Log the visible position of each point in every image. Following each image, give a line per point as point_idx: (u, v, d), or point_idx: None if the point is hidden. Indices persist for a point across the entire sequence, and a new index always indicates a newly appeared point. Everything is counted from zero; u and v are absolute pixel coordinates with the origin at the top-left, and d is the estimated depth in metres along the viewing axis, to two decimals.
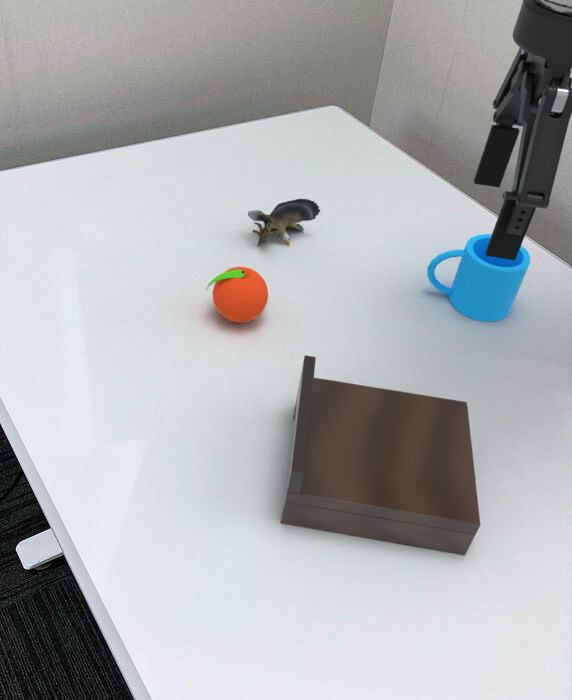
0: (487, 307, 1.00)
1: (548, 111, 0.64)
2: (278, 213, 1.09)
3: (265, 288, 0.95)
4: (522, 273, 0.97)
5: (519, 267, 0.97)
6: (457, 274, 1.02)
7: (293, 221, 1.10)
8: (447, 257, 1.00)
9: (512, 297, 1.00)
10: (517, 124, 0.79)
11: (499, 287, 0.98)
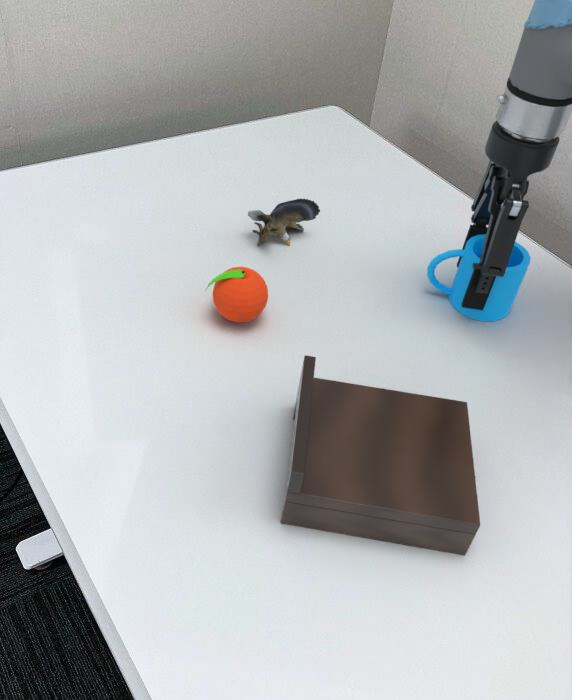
0: (487, 307, 1.00)
1: (506, 216, 0.88)
2: (278, 213, 1.09)
3: (265, 288, 0.95)
4: (522, 273, 0.97)
5: (519, 267, 0.97)
6: (457, 274, 1.02)
7: (293, 221, 1.10)
8: (447, 256, 1.00)
9: (512, 297, 1.00)
10: None
11: (499, 287, 0.98)
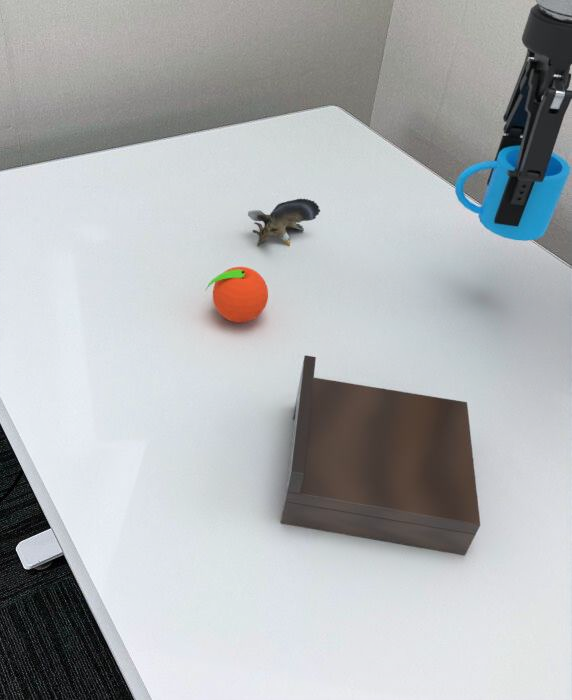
0: (522, 223, 0.91)
1: (547, 109, 0.79)
2: (278, 213, 1.09)
3: (265, 288, 0.95)
4: (561, 183, 0.88)
5: (558, 176, 0.88)
6: (488, 189, 0.93)
7: (293, 221, 1.10)
8: (478, 168, 0.91)
9: (550, 212, 0.91)
10: None
11: (536, 199, 0.89)
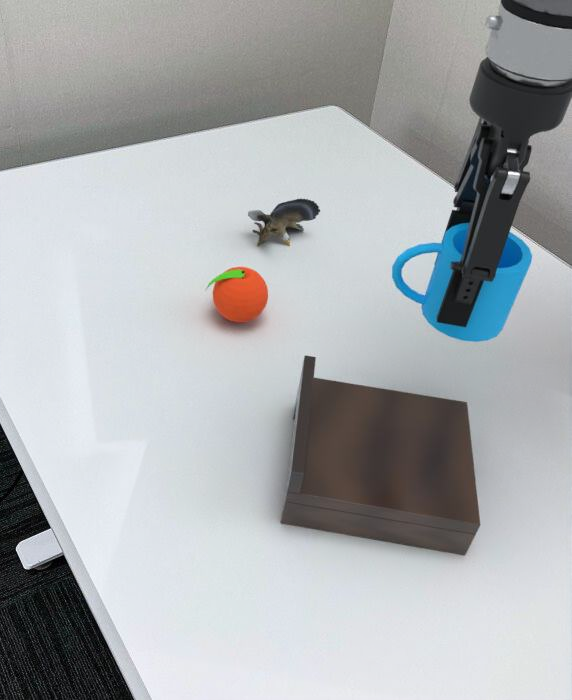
0: (471, 322, 0.73)
1: (497, 193, 0.61)
2: (278, 213, 1.09)
3: (265, 288, 0.95)
4: (520, 277, 0.70)
5: (516, 268, 0.70)
6: (432, 276, 0.75)
7: (293, 221, 1.10)
8: (418, 252, 0.73)
9: (506, 309, 0.73)
10: None
11: (488, 295, 0.71)
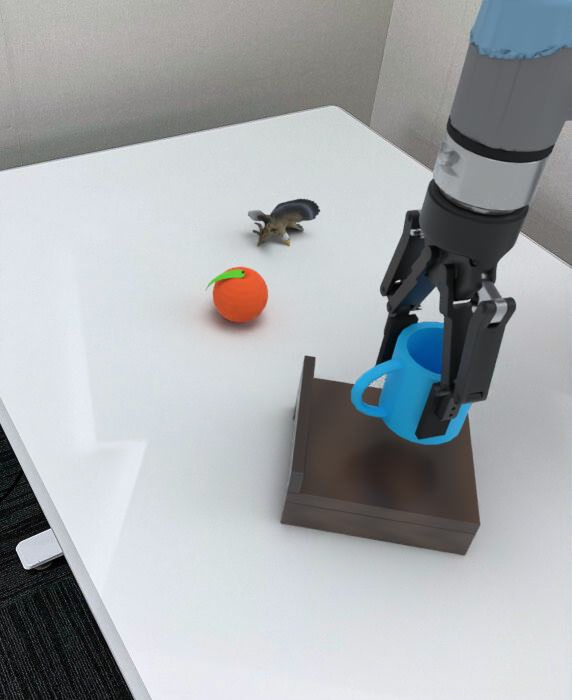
0: None
1: (486, 325, 0.58)
2: (278, 213, 1.09)
3: (265, 288, 0.95)
4: None
5: None
6: (392, 391, 0.71)
7: (293, 221, 1.10)
8: (379, 375, 0.69)
9: (471, 403, 0.72)
10: (414, 309, 0.72)
11: None
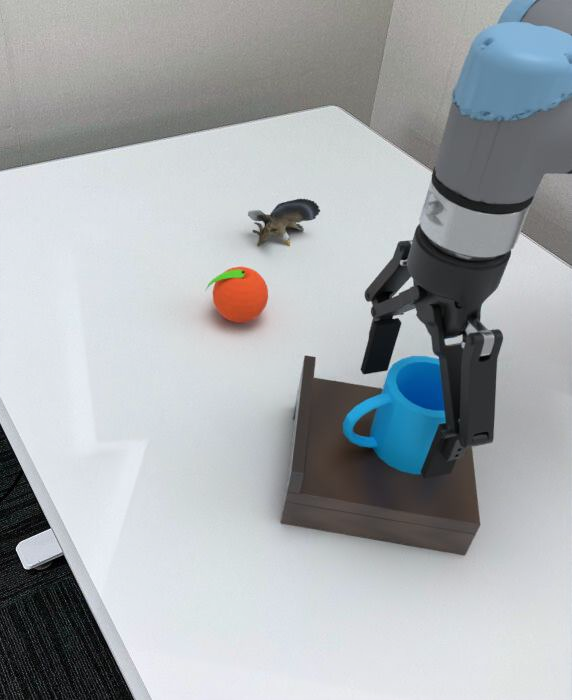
0: None
1: (477, 358, 0.60)
2: (278, 213, 1.09)
3: (265, 288, 0.95)
4: None
5: None
6: (383, 423, 0.74)
7: (293, 221, 1.10)
8: (370, 409, 0.72)
9: None
10: None
11: None
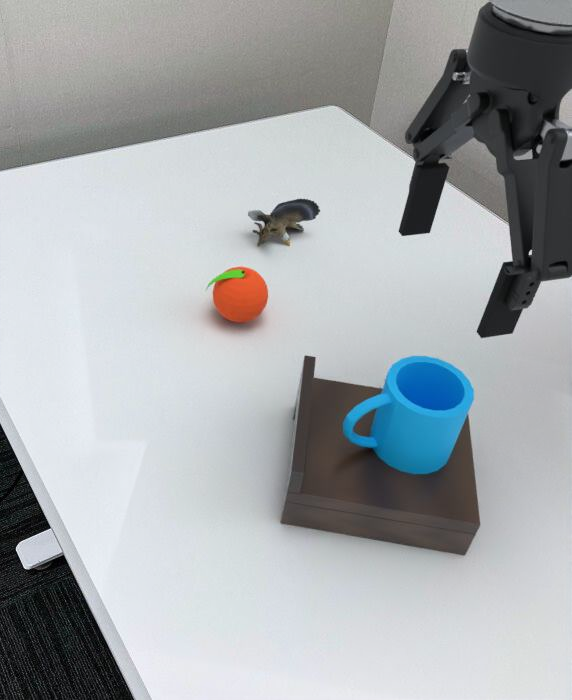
0: (434, 458, 0.74)
1: (558, 161, 0.49)
2: (278, 213, 1.09)
3: (265, 288, 0.95)
4: None
5: (466, 402, 0.71)
6: (383, 423, 0.74)
7: (293, 221, 1.10)
8: (369, 409, 0.72)
9: (458, 434, 0.75)
10: (443, 158, 0.64)
11: (448, 434, 0.72)
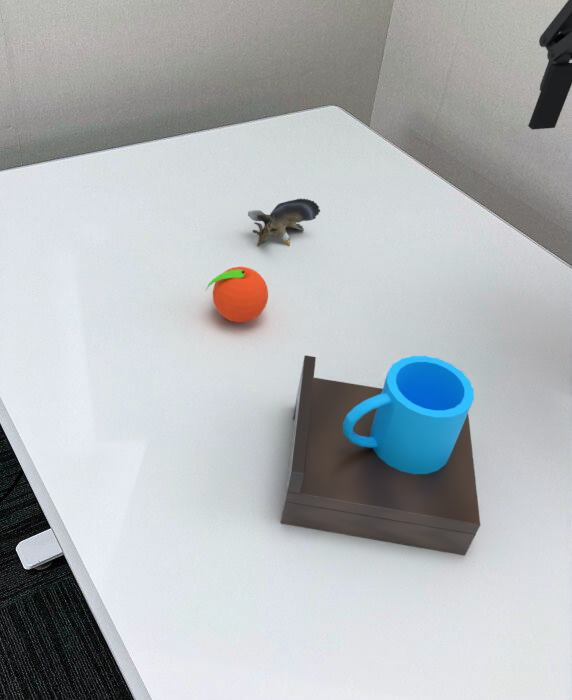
0: (434, 458, 0.74)
1: None
2: (278, 213, 1.09)
3: (265, 288, 0.95)
4: None
5: (466, 402, 0.71)
6: (383, 423, 0.74)
7: (293, 221, 1.10)
8: (369, 409, 0.72)
9: (458, 434, 0.75)
10: None
11: (448, 433, 0.72)
